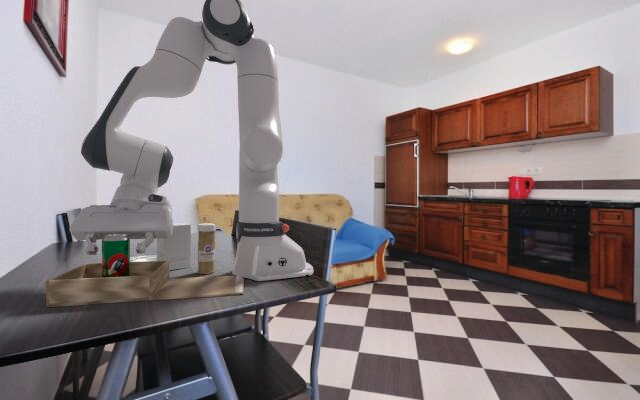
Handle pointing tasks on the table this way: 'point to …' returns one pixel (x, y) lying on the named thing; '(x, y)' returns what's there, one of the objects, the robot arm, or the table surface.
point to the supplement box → (176, 247)
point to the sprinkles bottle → (206, 248)
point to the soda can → (116, 255)
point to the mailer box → (134, 285)
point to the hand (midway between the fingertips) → (115, 252)
